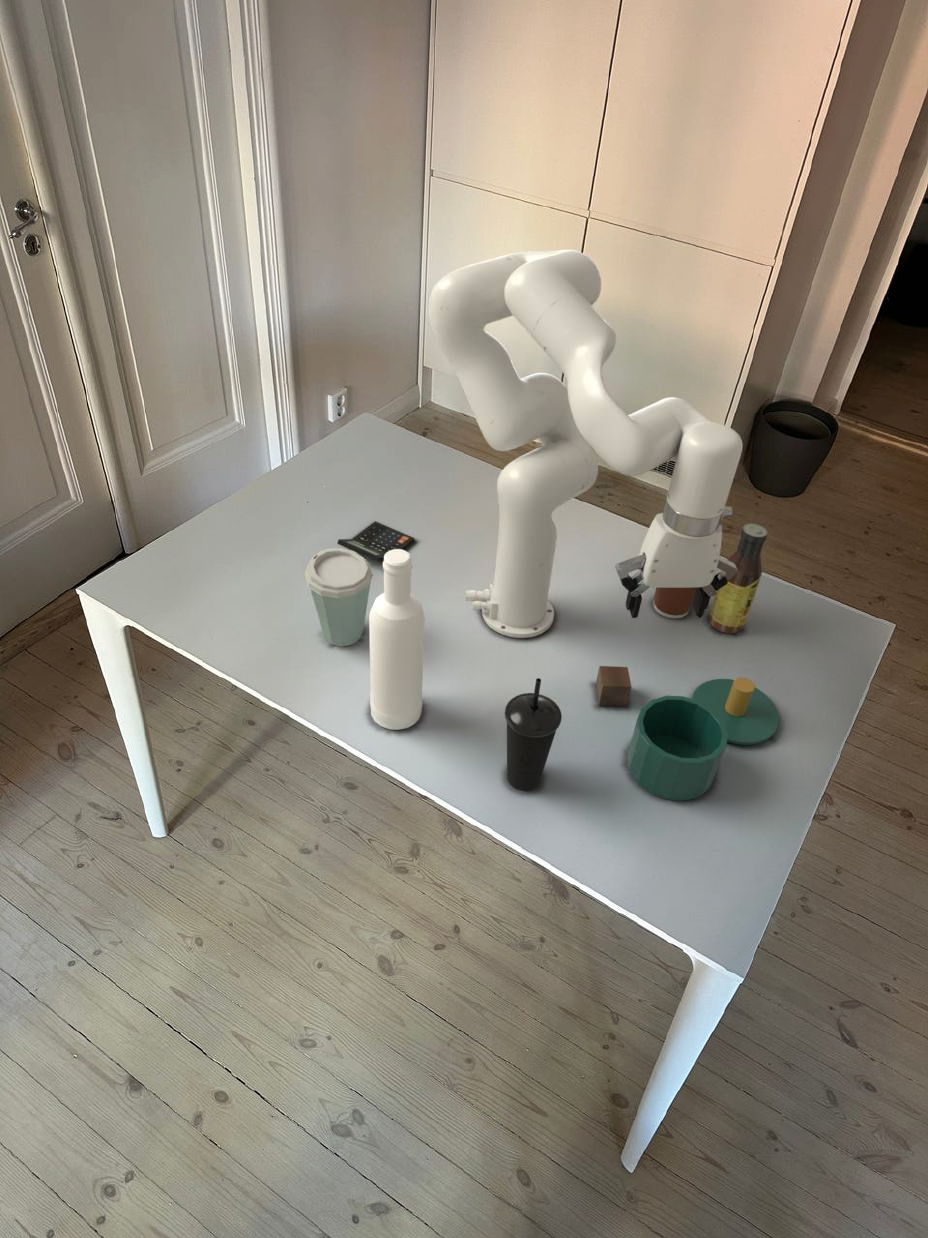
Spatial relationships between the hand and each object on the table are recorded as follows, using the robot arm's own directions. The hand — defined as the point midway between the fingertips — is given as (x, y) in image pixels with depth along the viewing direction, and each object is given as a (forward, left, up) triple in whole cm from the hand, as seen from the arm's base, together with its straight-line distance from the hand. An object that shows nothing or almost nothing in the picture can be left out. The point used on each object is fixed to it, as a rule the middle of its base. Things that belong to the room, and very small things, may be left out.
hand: (664, 611), depth 127 cm
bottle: (-39, -4, -19) cm, 43 cm away
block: (-5, +1, -19) cm, 19 cm away
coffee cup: (+9, +24, -19) cm, 32 cm away
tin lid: (+14, -2, -18) cm, 23 cm away
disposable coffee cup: (-49, +13, -19) cm, 54 cm away
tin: (+2, -13, -19) cm, 23 cm away
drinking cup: (-20, -16, -19) cm, 32 cm away
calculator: (-45, +38, -19) cm, 61 cm away
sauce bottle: (+18, +20, -19) cm, 33 cm away
